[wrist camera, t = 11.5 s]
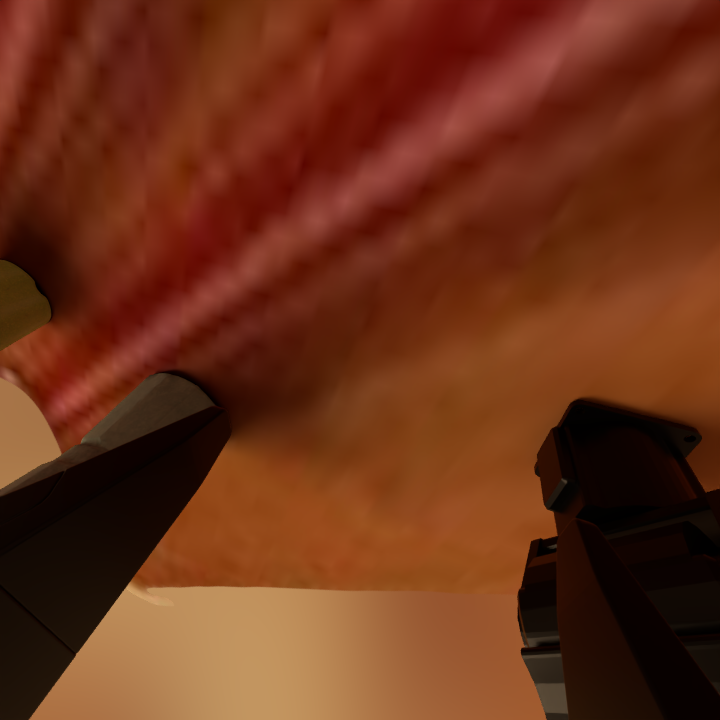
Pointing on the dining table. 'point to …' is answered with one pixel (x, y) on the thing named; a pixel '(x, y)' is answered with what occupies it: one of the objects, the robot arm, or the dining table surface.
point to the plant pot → (19, 305)
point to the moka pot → (127, 422)
